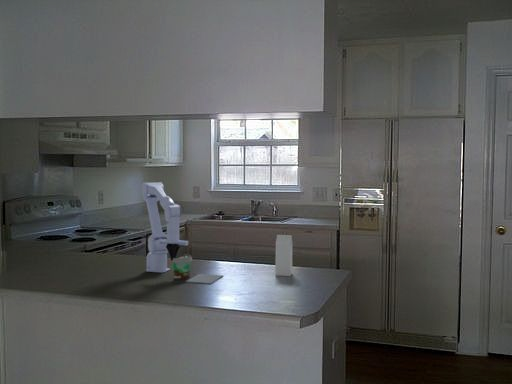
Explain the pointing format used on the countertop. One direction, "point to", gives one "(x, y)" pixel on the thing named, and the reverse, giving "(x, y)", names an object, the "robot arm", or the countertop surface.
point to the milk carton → (283, 255)
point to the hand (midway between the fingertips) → (173, 260)
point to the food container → (182, 267)
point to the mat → (204, 278)
